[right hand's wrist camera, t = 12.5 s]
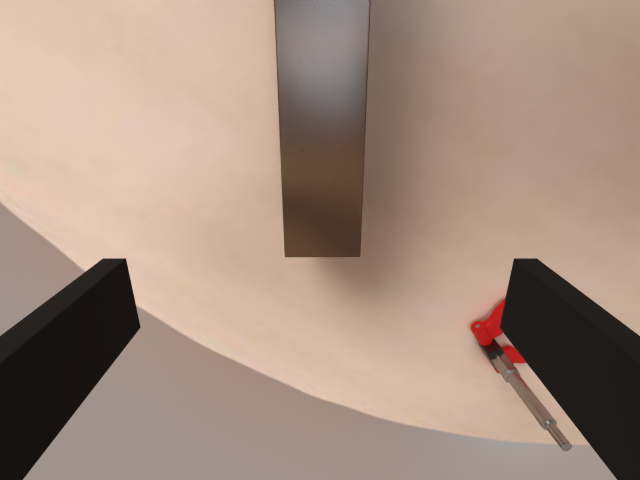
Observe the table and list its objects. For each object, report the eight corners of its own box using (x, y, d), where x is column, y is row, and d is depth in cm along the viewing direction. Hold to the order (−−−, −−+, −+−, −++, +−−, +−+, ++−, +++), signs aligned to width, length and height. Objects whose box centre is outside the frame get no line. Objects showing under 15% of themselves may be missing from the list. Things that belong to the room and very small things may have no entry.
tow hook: (546, 274, 37) (463, 318, 38) (664, 356, 25) (537, 417, 26) (573, 332, 40) (494, 372, 41) (691, 432, 28) (574, 484, 29)
